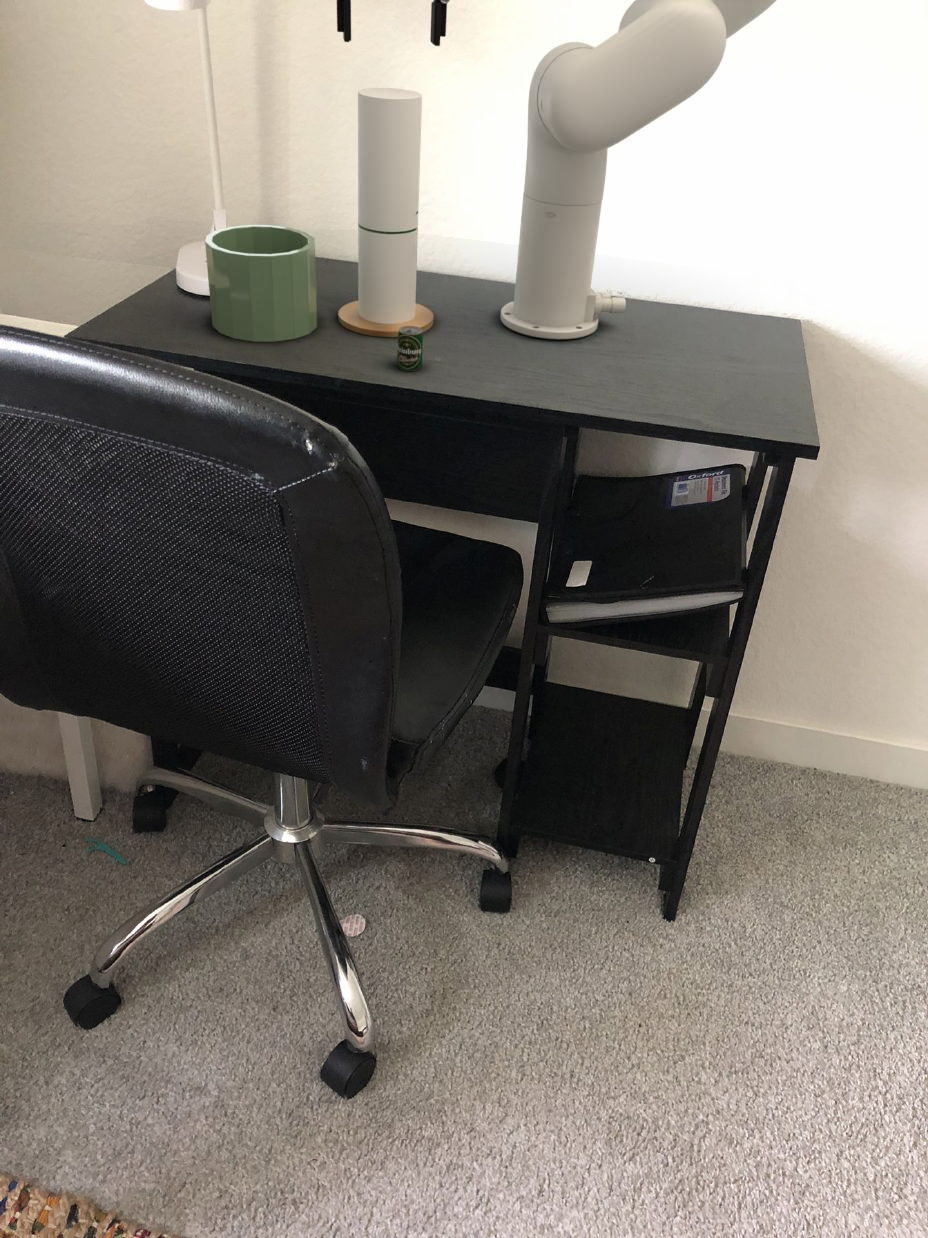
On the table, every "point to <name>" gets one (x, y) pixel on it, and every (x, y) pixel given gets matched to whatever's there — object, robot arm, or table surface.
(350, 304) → the coaster
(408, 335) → the beer can
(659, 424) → the table surface
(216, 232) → the crock
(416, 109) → the cylindrical container
